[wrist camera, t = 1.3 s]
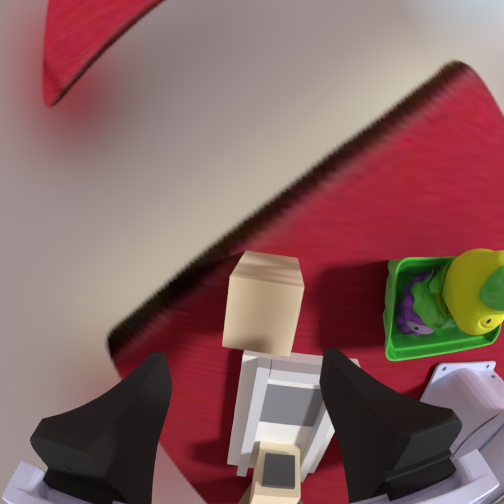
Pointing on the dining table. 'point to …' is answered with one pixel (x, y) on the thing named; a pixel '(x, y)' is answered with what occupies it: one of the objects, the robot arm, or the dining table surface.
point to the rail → (279, 424)
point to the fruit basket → (443, 303)
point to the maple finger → (263, 303)
